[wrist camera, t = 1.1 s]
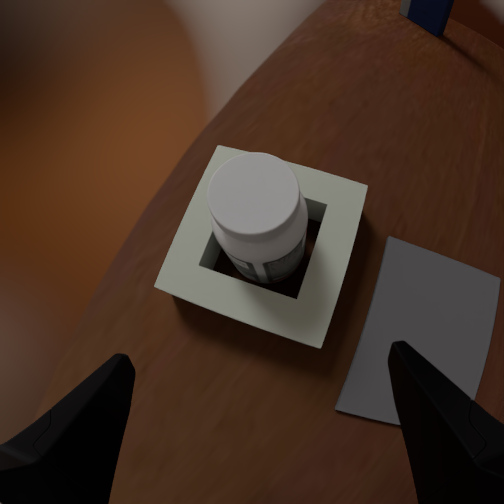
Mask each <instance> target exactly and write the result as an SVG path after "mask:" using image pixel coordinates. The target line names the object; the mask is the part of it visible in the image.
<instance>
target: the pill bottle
mask: <svg viewBox="0 0 504 504" xmlns="http://www.w3.org/2000/svg"><path fill="white" fill-rule="evenodd" d="M207 202H208V207H209V210H210V212H211V224H212V229H213V232H214V235H215V237H216V239H217V241H218V243H219V244H220V245H221V247H222V248H223V250H224V251H225V253H226V254H227V255H228V257H229V258H230V260H231V261H232V262H233V264H234V265H235V267H236V268H237V269H238V271H239V272H240V273H241V274H242V275H244V276H245V277H246V278H248V279H250V280H252V281H255V282H258V283H275V282H279V281H282V280H284V279H286V278H287V277H289V276H290V275H291V274H293V273H294V272H295V270H296V269H297V268H298V266H299V265H300V263H301V261H302V258H303V255H304V250H305V240H306V232H307V224H308V210H307V205H306V201H305V199H304V197H303V195H302V193H301V191H300V187H299V183H298V179H297V177H296V175H295V173H294V171H293V170H292V169H291V167H290V166H289V165H288V164H287V163H285V162H284V161H283V160H281V159H279V158H277V157H275V156H273V155H270V154H266V153H257V152H254V153H246V154H241V155H238V156H236V157H233V158H231V159H230V160H228V161H226V162H225V163H224V164H222V165H221V166H220V167H219V168H218V169H217V171H216V172H215V173H214V175H213V176H212V178H211V180H210V183H209V186H208V191H207Z"/></svg>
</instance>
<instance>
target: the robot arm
mask: <svg viewBox="0 0 504 504" xmlns="http://www.w3.org/2000/svg"><path fill="white" fill-rule="evenodd" d="M388 369H389V374H390V380H391V386H392V392H393V398H394V403H395V407H396V411H397V414H398V418H399V422H400V425H401V429H402V433H403V437H404V441H405V445H406V449H407V453H408V457H409V461H410V466H411V470H412V474H413V479H414V484H415V488H416V493H417V498H418V504H504V424H502V423H501V422H499V421H498V420H497V419H495V418H494V417H493V416H491V415H490V414H489V413H488V412H486V411H485V410H484V409H483V408H482V407H481V406H479V405H478V404H477V403H476V402H475V401H474V400H473V399H472V400H471V398H470V397H469V396H468V395H467V394H466V393H465V392H464V391H462V390H461V389H460V388H459V387H458V386H457V385H456V384H454V383H453V382H452V381H451V380H450V379H449V378H448V377H446V376H445V375H444V374H443V373H442V372H441V371H440V370H438V369H437V368H436V367H435V366H434V365H433V364H432V363H430V362H429V361H428V360H427V359H426V358H425V357H423V356H422V355H421V354H420V353H419V352H418V351H416V350H415V349H414V348H413V347H412V346H410V345H409V344H408V343H407V342H406V341H404V340H401V341H394V342H393V343H392V344H391V348H390V352H389V356H388ZM134 381H135V368H134V366H133V365H132V363H131V361H130V359H129V357H128V355H126V354H120V353H117V354H115V355H113V356H112V357H111V358H110V359H109V360H107V361H106V362H105V363H104V364H103V365H102V366H100V367H99V368H98V369H97V370H96V371H94V372H93V373H92V374H91V375H90V376H89V377H87V378H86V379H85V380H84V381H83V382H81V383H80V384H79V385H78V386H77V387H76V388H74V389H73V390H72V391H71V392H70V393H68V394H67V395H66V396H65V397H64V398H63V399H61V400H60V401H59V402H58V403H57V404H56V405H54V406H53V407H52V409H50V410H48V411H47V412H46V413H45V414H44V415H42V416H41V417H40V418H39V419H38V420H36V421H35V422H34V423H32V424H31V425H30V426H28V427H27V428H26V429H24V430H23V431H21V432H20V433H19V434H17V435H16V436H14V437H13V438H11V439H10V440H8V441H7V442H5V443H4V444H1V445H0V504H108V503H109V498H110V493H111V488H112V483H113V479H114V474H115V470H116V465H117V461H118V456H119V452H120V448H121V444H122V440H123V436H124V432H125V428H126V424H127V420H128V416H129V412H130V407H131V400H132V394H133V387H134Z"/></svg>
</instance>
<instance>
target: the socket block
mask: <svg viewBox="0 0 504 504" xmlns="http://www.w3.org/2000/svg"><path fill="white" fill-rule="evenodd" d="M246 153H250V152H246V151H242V150H237V149H233V148H228V147H224V146H219V145H218V146H217V148H216V150H215V152H214V154H213V156H212V158H211V160H210V162H209V164H208V166H207V168H206V170H205V173H204V175H203V177H202V179H201V181H200V183H199V185H198V187H197V189H196V191H195V193H194V196H193V198H192V200H191V202H190V204H189V206H188V209H187V211H186V213H185V215H184V217H183V220H182V222H181V224H180V226H179V229H178V231H177V233H176V235H175V238H174V240H173V242H172V245H171V247H170V249H169V252H168V254H167V256H166V259H165V261H164V263H163V266H162V268H161V271H160V273H159V276H158V278H157V281H156V283H155V285H154V287H156V288H158V289H160V290H162V291H165V292H167V293H169V294H171V295H174V296H176V297H179V298H181V299H184V300H186V301H188V302H191V303H193V304H196V305H199V306H201V307H204V308H206V309H209V310H211V311H214V312H216V313H219V314H222V315H224V316H227V317H230V318H232V319H235V320H238V321H240V322H243V323H246V324H249V325H251V326H254V327H257V328H260V329H262V330H265V331H268V332H271V333H274V334H277V335H280V336H282V337H285V338H288V339H291V340H294V341H297V342H300V343H303V344H306V345H309V346H312V347H316V348H321V347H322V344H323V341H324V338H325V335H326V332H327V329H328V326H329V323H330V320H331V317H332V314H333V311H334V308H335V305H336V302H337V299H338V296H339V292H340V289H341V286H342V282H343V279H344V276H345V272H346V269H347V265H348V262H349V258H350V255H351V251H352V248H353V244H354V240H355V236H356V232H357V229H358V225H359V221H360V217H361V213H362V209H363V204H364V200H365V196H366V191H367V187H368V186H367V185H364V184H361V183H358V182H355V181H352V180H349V179H345V178H342V177H339V176H336V175H332V174H329V173H326V172H322V171H319V170H315V169H312V168H308V167H305V166H301V165H298V164H294V163H290V162H286V161H284V162H285V163H287V164H288V165H289V166H290V167H291V169H292V170H293V171H294V173H295V175H296V177H297V179H298V183H299V187H300V191H301V193H302V195H303V197H304V199H305V201H306V205H307V210H308V218H309V219H312V220H315V221H319V222H322V224H321V227H320V230H319V234H318V237H317V240H316V243H315V246H314V249H313V252H312V256H311V259H310V262H309V265H308V268H307V271H306V274H305V277H304V280H303V283H302V286H301V289H300V292H299V295H298V297H297V299H294V298H291V297H288V296H285V295H282V294H279V293H276V292H273V291H270V290H267V289H264V288H261V287H258V286H256V285H253V284H250V283H247V282H244V281H241V280H238V279H235V278H233V277H230V276H227V275H224V274H221V273H218V272H216V271H213V268H214V266H215V263H216V261H217V258H218V256H219V253H220V251H221V248H222V247H221V245H220V244H219V243H218V241H217V239H216V237H215V235H214V232H213V229H212V224H211V212H210V210H209V207H208V202H207V191H208V186H209V183H210V180H211V178H212V176H213V175H214V173H215V172H216V171H217V169H218V168H219V167H220V166H221V165H222V164H224V163H225V162H226V161H228V160H230V159H231V158H233V157H236V156H238V155H241V154H246Z"/></svg>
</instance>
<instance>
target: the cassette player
mask: <svg viewBox="0 0 504 504" xmlns="http://www.w3.org/2000/svg"><path fill="white" fill-rule="evenodd" d="M453 3H454V0H402V3H401V8H400V12H399V13H400V14H402V15H403V16H405V17H407V18H408V19H410V20H412V21H413V22H415V23H417V24H418V25H420V26H421V27H423V28H424V29H426V30H427V31H429V32H430V33H432V34H433V35H435V36H436V37H437V36H440V35H443V32H444V30H445V27H446V24H447V21H448V18H449V14H450V12H451V9H452V5H453Z"/></svg>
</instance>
